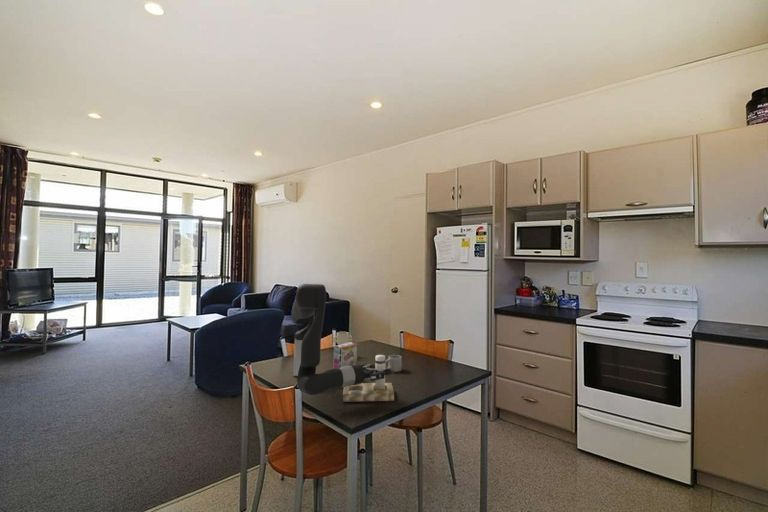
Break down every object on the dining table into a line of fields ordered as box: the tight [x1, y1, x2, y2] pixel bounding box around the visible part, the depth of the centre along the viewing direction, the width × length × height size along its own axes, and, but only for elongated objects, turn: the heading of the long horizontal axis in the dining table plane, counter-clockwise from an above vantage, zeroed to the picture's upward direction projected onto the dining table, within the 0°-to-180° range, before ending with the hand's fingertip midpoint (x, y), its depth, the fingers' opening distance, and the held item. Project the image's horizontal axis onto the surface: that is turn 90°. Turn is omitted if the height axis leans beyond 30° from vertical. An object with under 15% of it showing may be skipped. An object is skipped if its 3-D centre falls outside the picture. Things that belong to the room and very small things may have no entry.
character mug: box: [333, 331, 353, 345], centre depth 209 cm, size 11×7×13 cm, turn 110°
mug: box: [385, 354, 403, 373], centre depth 182 cm, size 10×7×7 cm, turn 126°
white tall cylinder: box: [374, 354, 386, 390], centre depth 149 cm, size 4×4×16 cm
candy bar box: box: [332, 341, 358, 369], centre depth 167 cm, size 11×5×16 cm, turn 141°
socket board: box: [342, 382, 395, 403], centre depth 148 cm, size 20×12×3 cm, turn 94°
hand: (384, 368), depth 150 cm, fingers open, 8 cm apart
